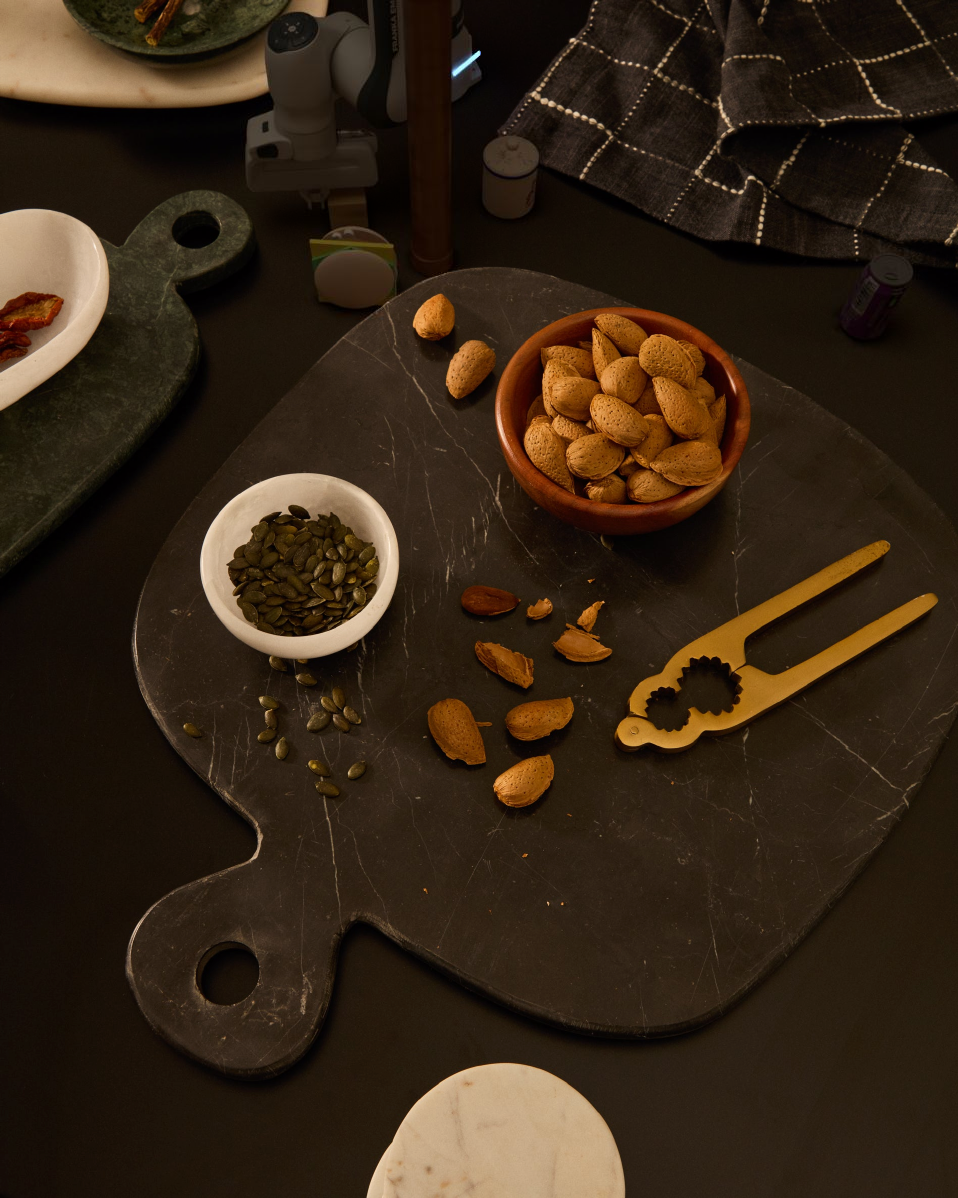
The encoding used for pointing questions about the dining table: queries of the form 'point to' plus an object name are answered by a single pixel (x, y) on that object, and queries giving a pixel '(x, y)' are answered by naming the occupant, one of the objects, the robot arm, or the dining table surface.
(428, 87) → the pepper mill
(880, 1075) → the dining table surface
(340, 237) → the hamburger
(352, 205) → the maple block
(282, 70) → the robot arm
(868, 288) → the beverage can
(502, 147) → the teacup with lid
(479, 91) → the dining table surface
